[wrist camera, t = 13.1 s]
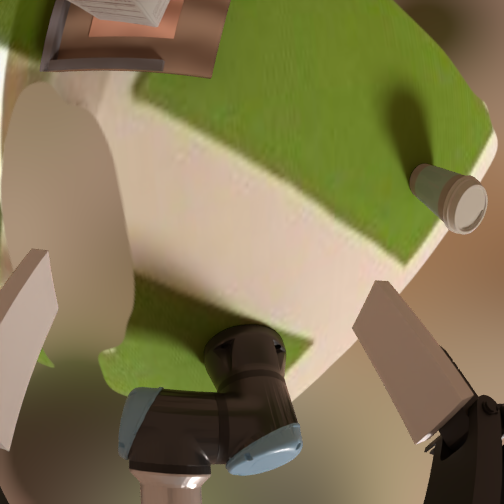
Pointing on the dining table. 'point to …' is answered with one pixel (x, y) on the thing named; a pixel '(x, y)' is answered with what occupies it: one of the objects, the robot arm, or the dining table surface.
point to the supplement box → (126, 10)
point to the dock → (136, 40)
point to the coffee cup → (450, 196)
